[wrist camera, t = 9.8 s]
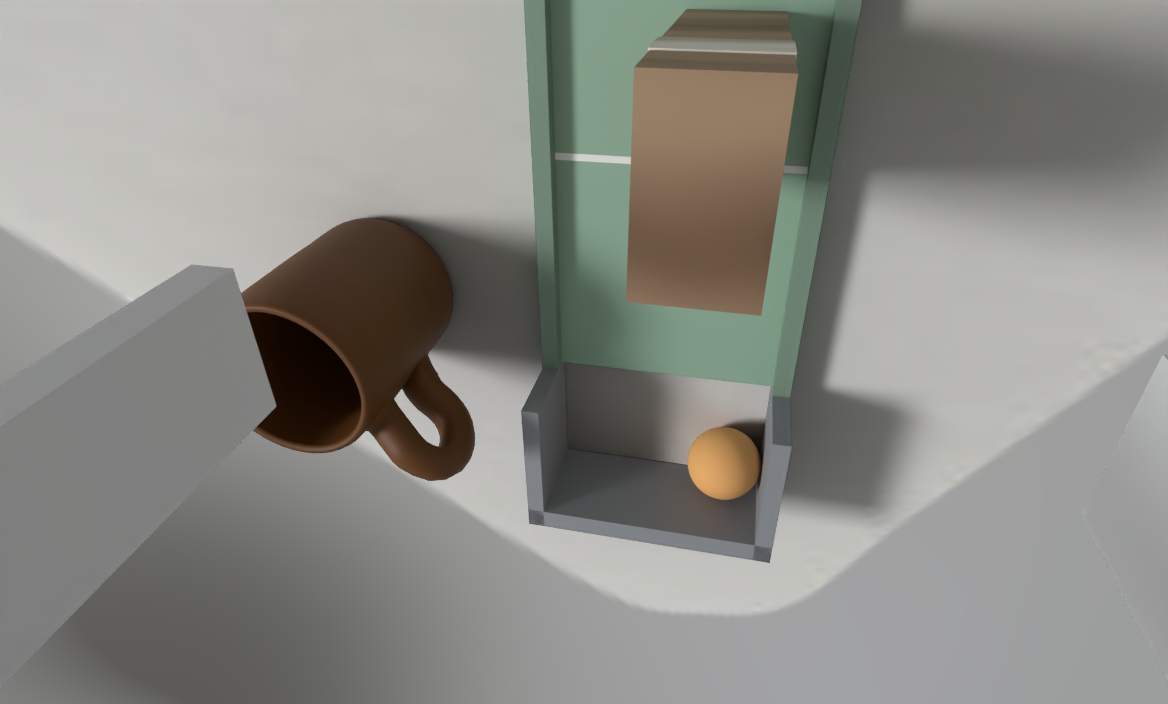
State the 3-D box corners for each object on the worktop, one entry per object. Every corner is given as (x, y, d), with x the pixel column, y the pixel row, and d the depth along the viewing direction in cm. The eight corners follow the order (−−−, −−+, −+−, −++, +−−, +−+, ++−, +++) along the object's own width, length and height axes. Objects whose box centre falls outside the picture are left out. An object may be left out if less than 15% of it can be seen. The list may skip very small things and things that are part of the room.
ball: (705, 439, 33) (718, 514, 33) (768, 422, 34) (781, 494, 34) (669, 433, 36) (681, 501, 36) (728, 418, 37) (739, 483, 37)
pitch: (528, -145, 25) (479, -155, 21) (884, -154, 22) (910, -169, 18) (554, 460, 40) (529, 523, 36) (769, 491, 38) (769, 562, 33)
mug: (555, 335, 35) (494, 454, 28) (478, 416, 39) (406, 540, 32) (359, 180, 33) (233, 262, 25) (299, 284, 37) (175, 382, 30)
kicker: (685, 7, 26) (631, 64, 16) (788, 9, 25) (800, 71, 15) (674, 170, 29) (623, 303, 19) (765, 176, 28) (762, 317, 18)
